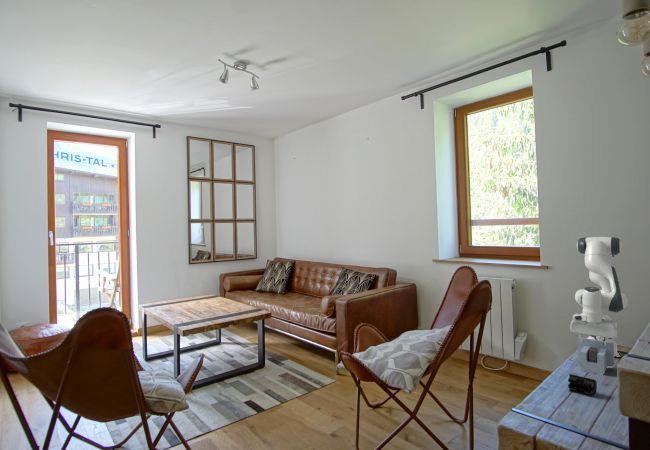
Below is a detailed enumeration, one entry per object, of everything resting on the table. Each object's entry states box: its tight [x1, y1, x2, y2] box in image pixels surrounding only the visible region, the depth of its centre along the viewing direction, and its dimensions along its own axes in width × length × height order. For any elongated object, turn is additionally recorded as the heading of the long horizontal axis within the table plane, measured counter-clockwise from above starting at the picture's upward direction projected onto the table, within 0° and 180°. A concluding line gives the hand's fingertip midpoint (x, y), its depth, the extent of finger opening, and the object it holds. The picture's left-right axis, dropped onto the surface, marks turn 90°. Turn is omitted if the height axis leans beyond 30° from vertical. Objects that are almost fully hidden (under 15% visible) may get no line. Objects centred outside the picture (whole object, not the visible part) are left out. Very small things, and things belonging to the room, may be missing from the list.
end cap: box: [567, 373, 598, 398], centre depth 165 cm, size 10×7×7 cm
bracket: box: [589, 347, 598, 362], centre depth 194 cm, size 6×3×6 cm, turn 137°
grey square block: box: [577, 336, 615, 375], centre depth 195 cm, size 16×16×14 cm
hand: (593, 343), depth 195 cm, fingers open, 8 cm apart
